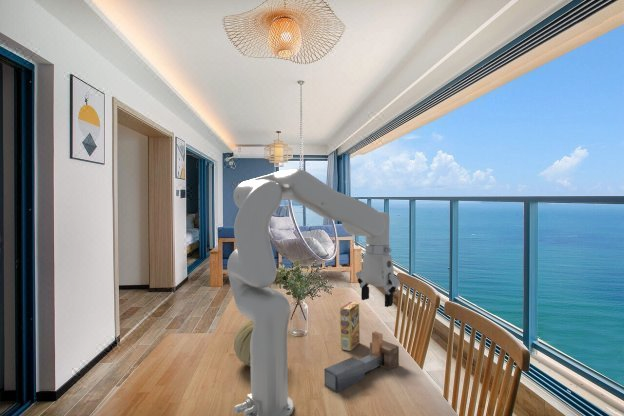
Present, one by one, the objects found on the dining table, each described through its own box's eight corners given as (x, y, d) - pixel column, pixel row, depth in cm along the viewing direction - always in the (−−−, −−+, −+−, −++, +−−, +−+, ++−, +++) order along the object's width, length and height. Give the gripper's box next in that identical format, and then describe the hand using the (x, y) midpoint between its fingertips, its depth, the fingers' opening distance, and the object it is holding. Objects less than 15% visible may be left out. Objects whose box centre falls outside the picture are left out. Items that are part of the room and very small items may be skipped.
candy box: (350, 351, 129) (350, 309, 129) (339, 349, 131) (339, 307, 131) (360, 342, 137) (359, 302, 137) (349, 340, 139) (349, 301, 139)
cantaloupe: (231, 358, 124) (230, 315, 124) (273, 352, 130) (272, 310, 129) (238, 379, 110) (237, 330, 110) (284, 370, 116) (284, 324, 115)
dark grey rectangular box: (336, 392, 103) (336, 375, 102) (324, 385, 106) (324, 368, 106) (364, 378, 110) (364, 362, 110) (352, 372, 114) (352, 356, 114)
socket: (389, 369, 116) (389, 350, 115) (369, 361, 122) (369, 342, 122) (398, 365, 119) (398, 346, 119) (379, 356, 125) (379, 339, 125)
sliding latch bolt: (355, 377, 109) (355, 344, 109) (348, 373, 111) (348, 341, 111) (388, 361, 119) (388, 331, 119) (381, 358, 122) (381, 329, 121)
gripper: (406, 252, 113) (406, 306, 113) (364, 246, 126) (364, 295, 126) (391, 254, 108) (391, 311, 108) (349, 248, 121) (349, 298, 121)
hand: (376, 302), depth 117 cm, fingers open, 9 cm apart
